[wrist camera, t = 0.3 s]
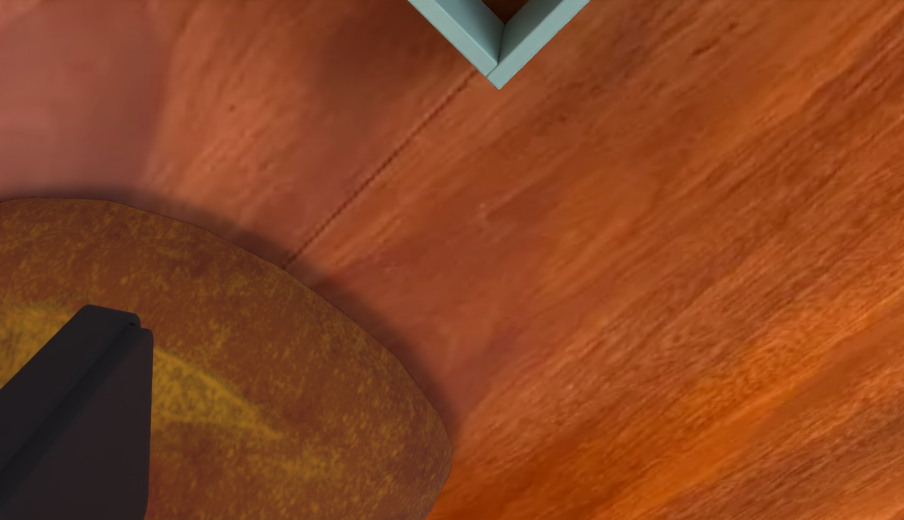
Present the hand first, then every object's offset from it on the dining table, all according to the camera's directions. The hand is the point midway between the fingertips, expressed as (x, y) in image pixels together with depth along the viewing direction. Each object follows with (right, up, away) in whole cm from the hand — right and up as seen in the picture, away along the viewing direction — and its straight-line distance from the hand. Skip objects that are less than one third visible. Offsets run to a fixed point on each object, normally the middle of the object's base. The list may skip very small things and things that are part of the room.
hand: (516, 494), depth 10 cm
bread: (-17, -3, +32) cm, 36 cm away
